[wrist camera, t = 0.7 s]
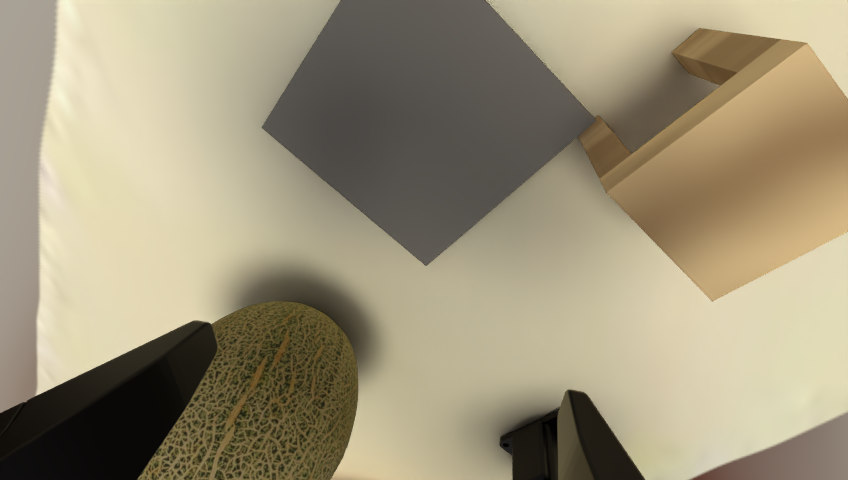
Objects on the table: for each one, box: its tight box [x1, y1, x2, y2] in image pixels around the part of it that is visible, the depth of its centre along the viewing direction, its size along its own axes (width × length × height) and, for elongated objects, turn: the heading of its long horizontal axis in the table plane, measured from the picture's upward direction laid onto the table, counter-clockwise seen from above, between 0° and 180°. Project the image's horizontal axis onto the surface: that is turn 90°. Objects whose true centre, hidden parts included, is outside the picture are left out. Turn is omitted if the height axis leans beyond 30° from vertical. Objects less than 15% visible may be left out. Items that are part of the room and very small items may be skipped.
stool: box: [578, 28, 848, 301], centre depth 15 cm, size 6×6×7 cm
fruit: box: [137, 301, 358, 480], centre depth 23 cm, size 11×11×15 cm
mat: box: [262, 0, 596, 266], centre depth 20 cm, size 12×12×1 cm
